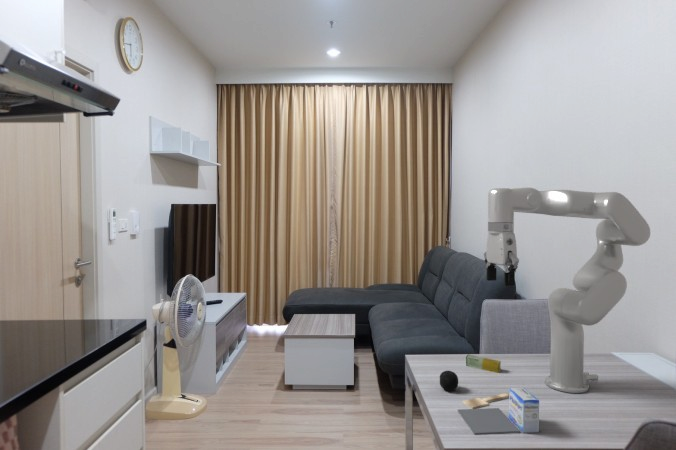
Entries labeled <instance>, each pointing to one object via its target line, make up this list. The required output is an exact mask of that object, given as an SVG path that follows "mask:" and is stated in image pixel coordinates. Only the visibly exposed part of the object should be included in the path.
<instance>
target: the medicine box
mask: <svg viewBox="0 0 676 450" xmlns="http://www.w3.org/2000/svg"><path fill="white" fill-rule="evenodd" d="M508 392H509V398H508V402H509V403H508V419H509V420H510V421H511V422H512V423H513V424H514V425H515V426H516V427H517V428H518V429H519V430H520V432H522V433H527V434H528V433H530V434H531V433H539V432H540V400H539V399H538V398H537V397H536V396H534V395H533V394H532V393H531V392H529V391H528V390H527V389H526V388H525V387H511V388H509V391H508Z"/></svg>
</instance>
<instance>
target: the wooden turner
mask: <svg viewBox="0 0 676 450" xmlns="http://www.w3.org/2000/svg"><path fill="white" fill-rule="evenodd" d="M505 399H509V393H508V392H504V393H500V394H495V395H492V396H488V397H483V398H480V397H475V398H471V399H467V400H466V399H465V400H462V404H464V405H465V406H466V407H469V409H480V408H482V407H487V406H489V405H490V403H492V402H493V403H494V402H495V401H496V402H497V401H500V400H505Z"/></svg>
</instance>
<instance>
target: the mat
mask: <svg viewBox="0 0 676 450" xmlns="http://www.w3.org/2000/svg"><path fill="white" fill-rule="evenodd" d="M457 412H458V414H459V415H460V416H461V418H462V419H463V420H464V422H465V424H467V426H468V427H469V429H470V430H471V432H472V433H473V435H491V434H492V435H495V434H497V435H498V434H517V433H521V430H520V429H519V428H518V427H517V426H516V425H515V424H514V423H513V422H512V421H511V420H510V419H509V417H507V415H506V414H505V413H504V412H503V411H502V409H500V408H499V407H491V408H489V407H486V408H475V409H472V408H465V409H457Z"/></svg>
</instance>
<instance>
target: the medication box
mask: <svg viewBox="0 0 676 450" xmlns="http://www.w3.org/2000/svg"><path fill="white" fill-rule="evenodd" d="M501 363H502V362H501V360H497V359H492V358H487V357H483V356H478V355H473V354H466V356H465V366H466V367H470V368H473V369H479V370H483V371H486V372H493V373H496V374H500V373H501V370H502V369H501V368H502V367H501V365H502V364H501Z"/></svg>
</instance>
